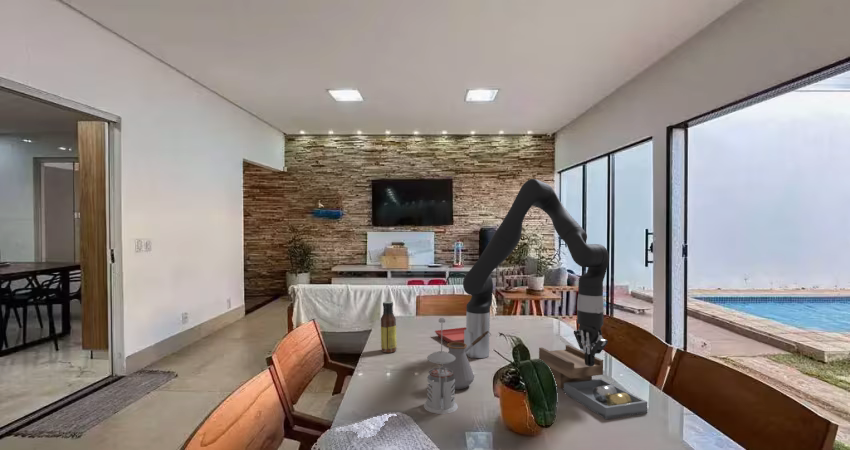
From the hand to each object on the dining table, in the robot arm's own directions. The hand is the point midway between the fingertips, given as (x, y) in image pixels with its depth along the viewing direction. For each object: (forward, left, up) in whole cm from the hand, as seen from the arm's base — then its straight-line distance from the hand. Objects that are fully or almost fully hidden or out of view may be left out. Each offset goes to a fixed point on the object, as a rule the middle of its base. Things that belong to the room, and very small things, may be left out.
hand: (589, 365), depth 126 cm
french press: (-47, +4, -9) cm, 48 cm away
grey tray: (0, -6, -9) cm, 11 cm away
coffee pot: (-32, +20, -9) cm, 39 cm away
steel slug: (0, -8, -5) cm, 9 cm away
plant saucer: (-15, +66, -9) cm, 68 cm away
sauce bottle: (-50, +58, -9) cm, 77 cm away
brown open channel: (0, +9, -9) cm, 13 cm away
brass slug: (0, -14, -5) cm, 15 cm away
